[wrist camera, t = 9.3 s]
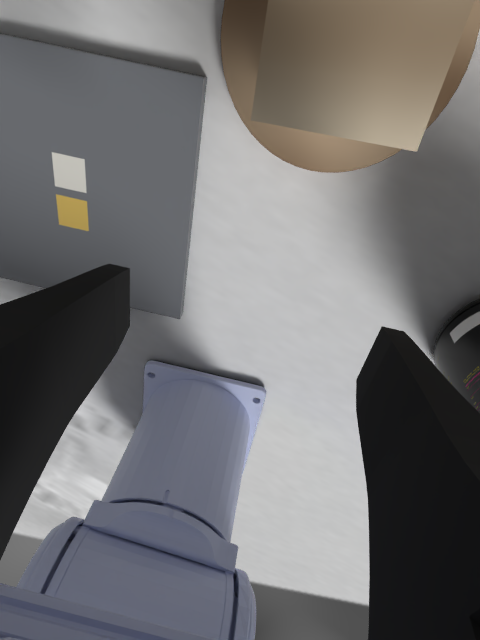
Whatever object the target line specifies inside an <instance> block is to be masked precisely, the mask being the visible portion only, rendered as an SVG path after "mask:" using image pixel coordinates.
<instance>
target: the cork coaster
mask: <svg viewBox="0 0 480 640" xmlns="http://www.w3.org/2000/svg"><path fill="white" fill-rule="evenodd" d="M267 5H268V0H225V2H224V8H223V14H222V25H221V56H222V63H223V70H224V76H225V79H226V83H227V87H228V91H229V93H230V96H231V99H232V101H233V104H234V106H235V108H236V110H237V112H238V114H239V116H240V118H241V119H242V121H243V123H244V124H245V125H246V127H247V128H248V130H249V131H250V133H251V134H252V135H253V136H254V137H255V138H256V139H257V140H258V141H259V143H260V144H261V145H263V146H264V147H265V148H266V149H267V150H269V151H270V152H271V153H272V154H274V155H275V156H277V157H279V158H280V159H282V160H283V161H286V162H288V163H290V164H292V165H294V166H297V167H300V168H304V169H307V170H311V171H318V172H346V171H353V170H357V169H361V168H365V167H368V166H371V165H373V164H376V163H378V162H381V161H383V160H385V159H387V158H389V157H390V156H392V155H394V154H396V153H397V152H399V151H400V150H402V149H399V148H394V147H389V146H383V145H378V144H373V143H367V142H362V141H357V140H352V139H346V138H341V137H336V136H331V135H325V134H320V133H315V132H309V131H304V130H299V129H294V128H288V127H283V126H278V125H273V124H267V123H262V122H257V121H252V120H251V115H252V108H253V101H254V94H255V87H256V81H257V74H258V67H259V60H260V53H261V46H262V40H263V33H264V26H265V19H266V12H267ZM479 28H480V0H475V2H474V4H473V7H472V10H471V12H470V15H469V17H468V20H467V23H466V25H465V28H464V30H463V33H462V36H461V38H460V41H459V43H458V46H457V49H456V51H455V54H454V56H453V59H452V62H451V64H450V67H449V69H448V72H447V75H446V77H445V80H444V82H443V85H442V88H441V90H440V93H439V95H438V98H437V101H436V103H435V106H434V108H433V111H432V113H431V116H430V119H429V121H428V124H427V126H426V129H427V128H428V127H429V126H430V125H431V124H432V123H433V122H434V121H435V120H436V118H437V117H438V116H439V114H440V113H441V112H442V111H443V109H444V108H445V107H446V105H447V104H448V102H449V101H450V99H451V98H452V96H453V94H454V93H455V91H456V90H457V88H458V86H459V84H460V82H461V80H462V78H463V76H464V74H465V72H466V70H467V67H468V65H469V62H470V59H471V56H472V54H473V51H474V48H475V44H476V40H477V36H478V32H479ZM426 129H425V130H426Z"/></svg>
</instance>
